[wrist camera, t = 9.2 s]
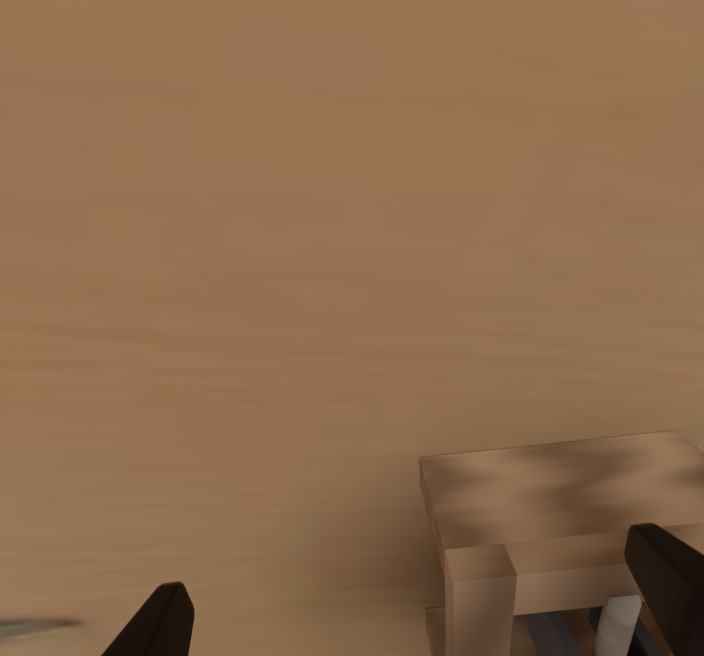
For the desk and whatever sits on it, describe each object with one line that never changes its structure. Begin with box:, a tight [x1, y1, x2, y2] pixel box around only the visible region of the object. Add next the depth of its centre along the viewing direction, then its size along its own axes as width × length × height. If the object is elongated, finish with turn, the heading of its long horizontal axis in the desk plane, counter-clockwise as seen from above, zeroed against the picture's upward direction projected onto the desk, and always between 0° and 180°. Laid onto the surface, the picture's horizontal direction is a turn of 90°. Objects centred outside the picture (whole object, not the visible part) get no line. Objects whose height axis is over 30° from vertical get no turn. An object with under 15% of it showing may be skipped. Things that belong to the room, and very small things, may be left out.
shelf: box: [419, 430, 704, 656], centre depth 22 cm, size 14×15×8 cm
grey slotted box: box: [526, 606, 664, 656], centre depth 20 cm, size 4×4×5 cm
